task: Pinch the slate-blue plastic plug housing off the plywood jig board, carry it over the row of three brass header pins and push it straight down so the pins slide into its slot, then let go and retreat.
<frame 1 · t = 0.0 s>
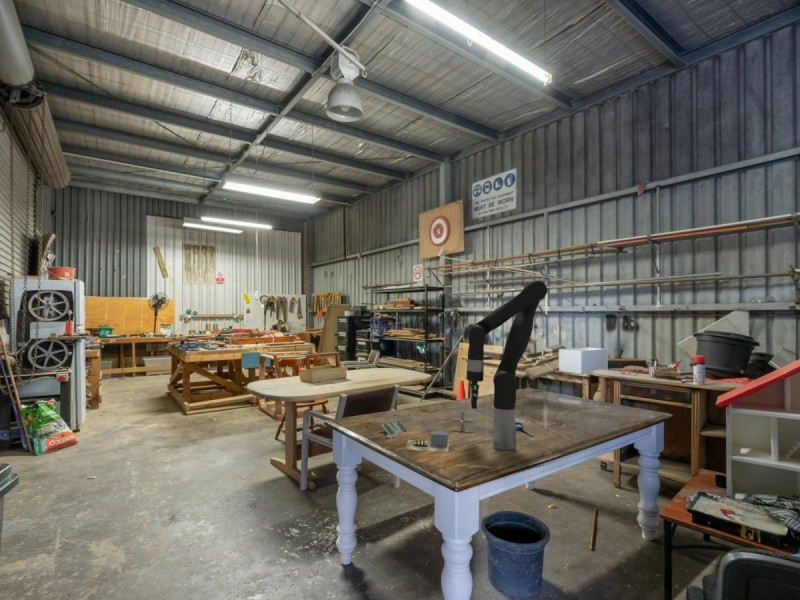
hand: (473, 406, 176), 17 cm above the table, tool pointing down, fingers open, 8 cm apart
plug housing: (439, 444, 172), point 1 cm above the table, touching jig board
bar clamp: (526, 436, 194), on the table
metal bracket: (395, 434, 193), on the table
grey cross-shaped piece: (462, 431, 198), on the table
jig board: (427, 448, 171), on the table
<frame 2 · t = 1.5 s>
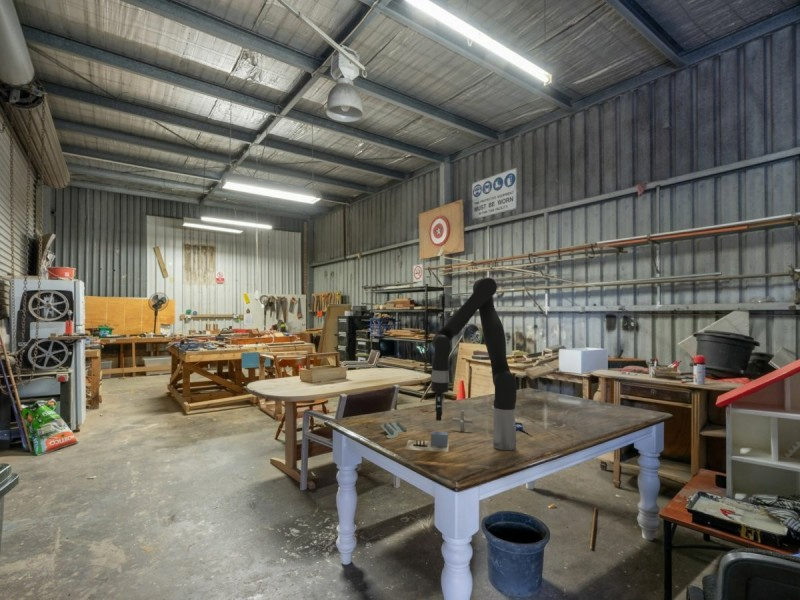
hand: (439, 417, 173), 13 cm above the table, tool pointing down, fingers open, 8 cm apart
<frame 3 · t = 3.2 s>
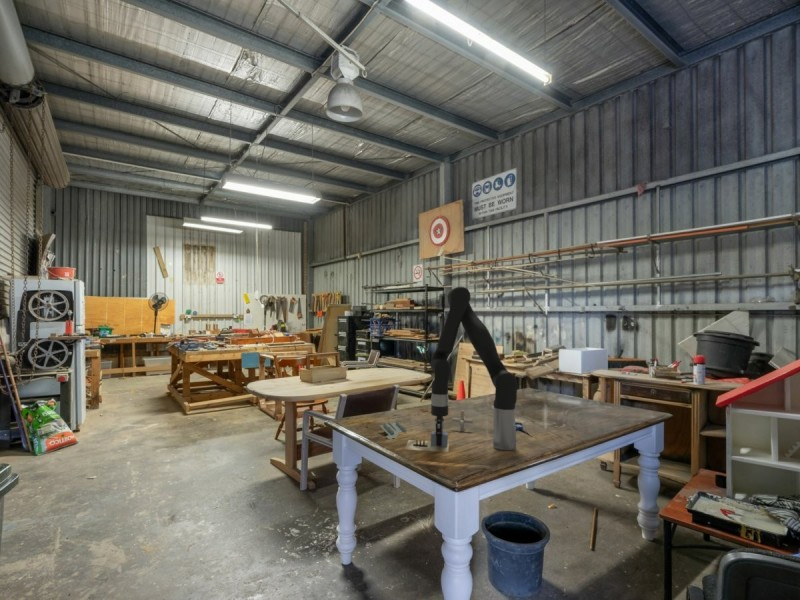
hand: (439, 443, 172), 2 cm above the table, tool pointing down, fingers closed on plug housing, 4 cm apart
plug housing: (439, 444, 172), point 1 cm above the table, touching gripper, jig board
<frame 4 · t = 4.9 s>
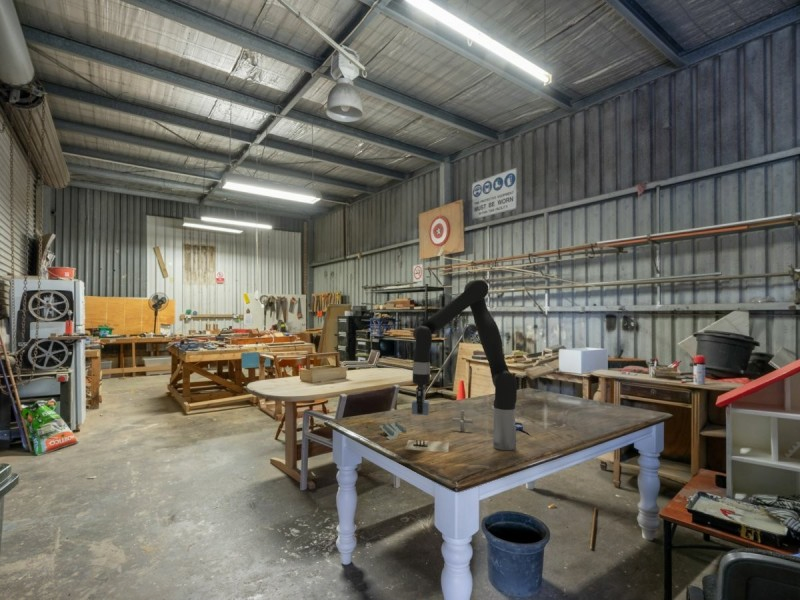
hand: (420, 412, 171), 16 cm above the table, tool pointing down, fingers closed on plug housing, 4 cm apart
plug housing: (420, 413, 171), point 15 cm above the table, touching gripper
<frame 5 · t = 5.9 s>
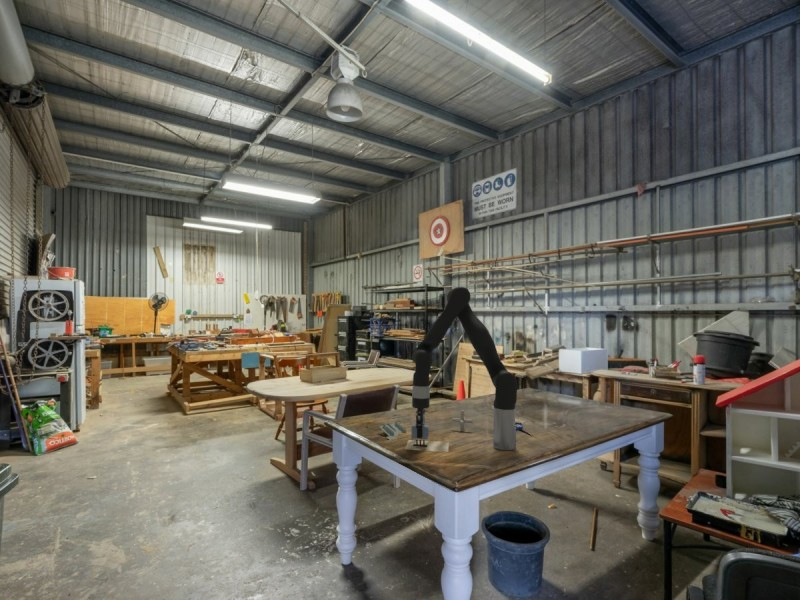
hand: (420, 435, 171), 5 cm above the table, tool pointing down, fingers closed on plug housing, 4 cm apart
plug housing: (420, 437, 171), point 5 cm above the table, touching gripper
when the fingers open (3 cm above the table, at t = 6.8 s): plug housing stays where it is, resting on jig board.
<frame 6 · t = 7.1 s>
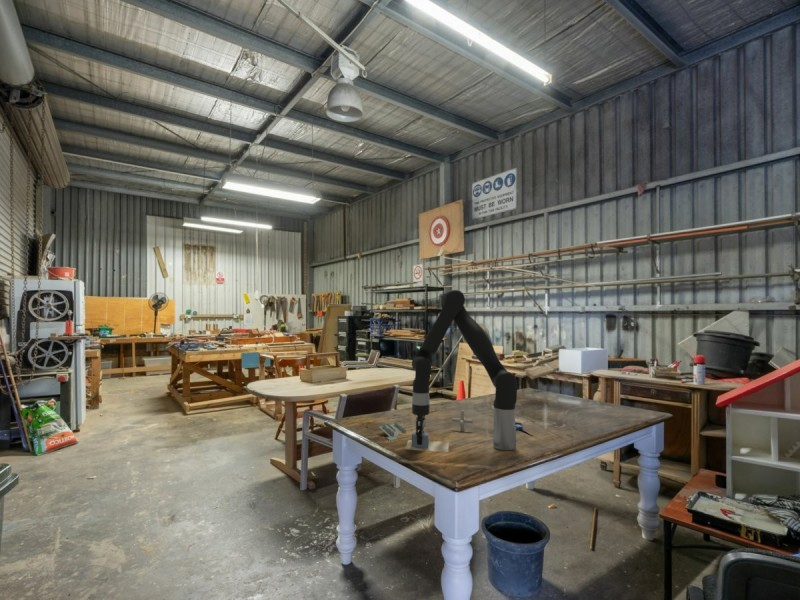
hand: (420, 441, 171), 3 cm above the table, tool pointing down, fingers open, 6 cm apart
plug housing: (420, 445, 170), point 1 cm above the table, touching jig board
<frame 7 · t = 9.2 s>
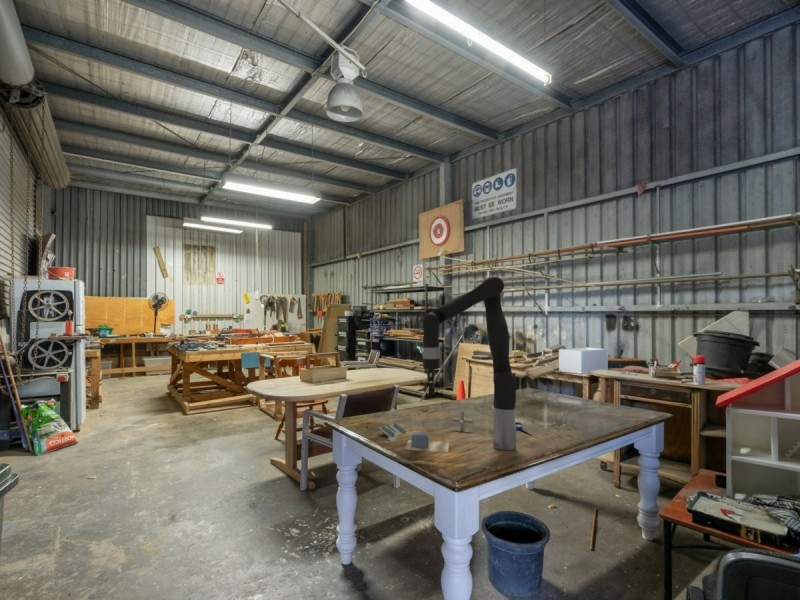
hand: (431, 394, 177), 22 cm above the table, tool pointing down, fingers open, 8 cm apart
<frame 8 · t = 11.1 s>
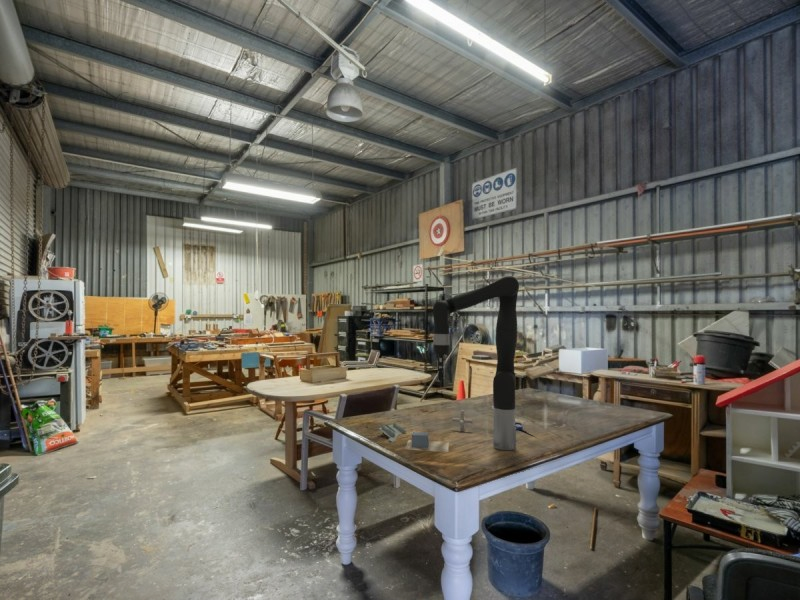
hand: (441, 378, 183), 28 cm above the table, tool pointing down, fingers open, 8 cm apart
at the end: plug housing 0.0 cm from the target spot on the jig board, point 1.3 cm above the jig board's base; plug housing tilted 2°; the gripper is holding nothing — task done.
